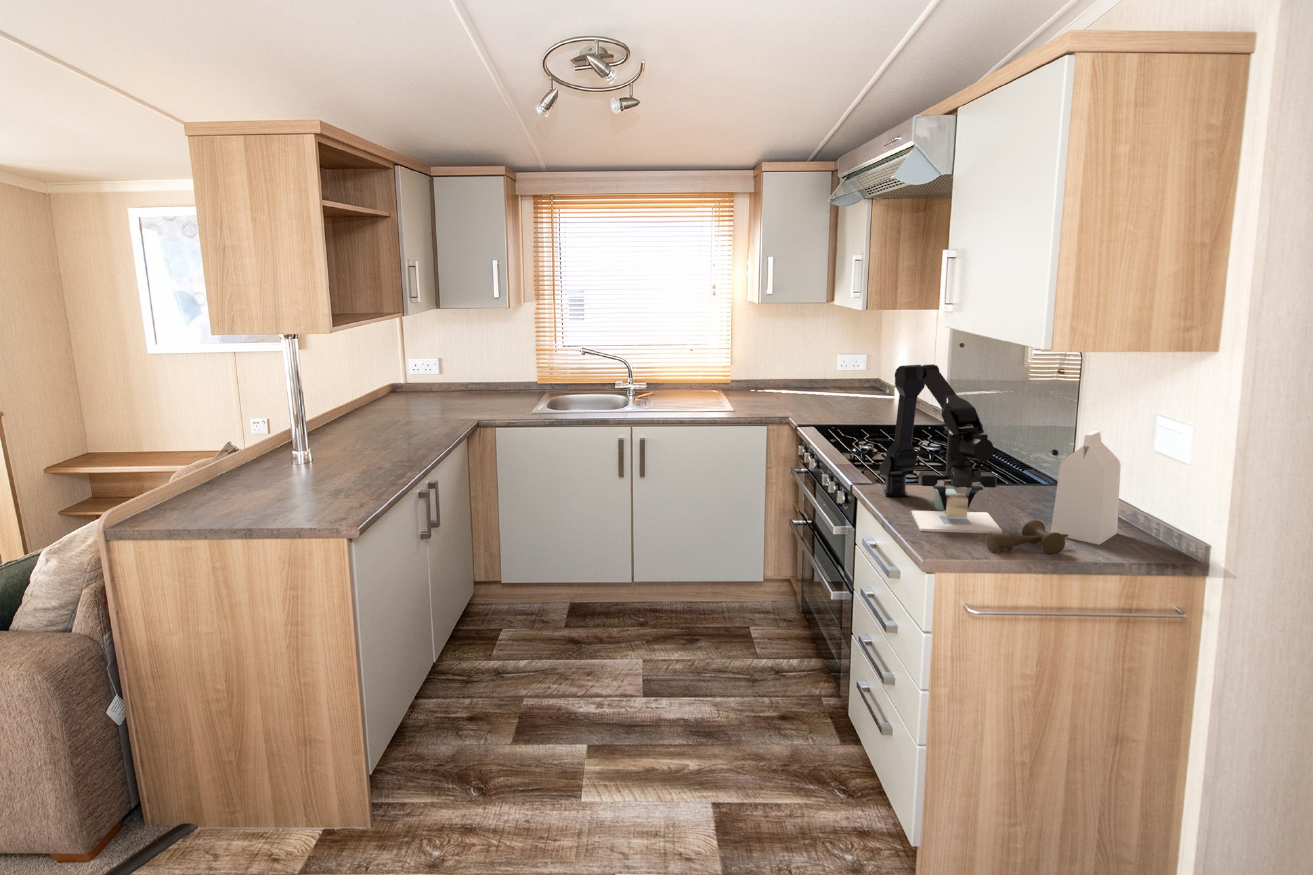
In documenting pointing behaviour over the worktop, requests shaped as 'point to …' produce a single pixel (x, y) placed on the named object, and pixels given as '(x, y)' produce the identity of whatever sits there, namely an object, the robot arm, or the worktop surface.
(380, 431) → the worktop surface
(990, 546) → the kendama
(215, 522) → the worktop surface
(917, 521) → the baseplate
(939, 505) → the teal block
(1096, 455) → the milk
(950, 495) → the birch block
